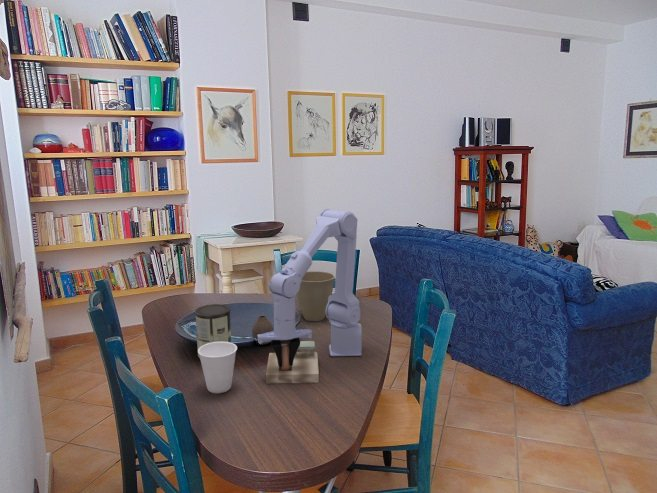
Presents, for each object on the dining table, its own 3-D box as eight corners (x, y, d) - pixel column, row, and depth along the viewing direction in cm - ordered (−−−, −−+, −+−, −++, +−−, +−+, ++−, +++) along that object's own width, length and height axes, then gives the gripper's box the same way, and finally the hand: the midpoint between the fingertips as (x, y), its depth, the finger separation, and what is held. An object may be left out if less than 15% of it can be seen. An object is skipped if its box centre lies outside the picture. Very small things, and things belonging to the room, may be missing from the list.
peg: (288, 370, 136) (287, 343, 135) (290, 374, 134) (290, 346, 133) (279, 372, 135) (279, 344, 134) (282, 375, 133) (281, 347, 132)
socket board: (317, 360, 145) (317, 352, 145) (318, 382, 131) (318, 373, 131) (269, 360, 144) (269, 352, 144) (266, 383, 131) (265, 374, 130)
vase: (269, 347, 154) (269, 321, 152) (249, 345, 155) (248, 319, 153) (276, 339, 161) (276, 313, 159) (256, 337, 162) (255, 312, 160)
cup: (219, 401, 121) (217, 360, 119) (191, 391, 127) (189, 351, 124) (246, 385, 130) (245, 346, 127) (219, 376, 135) (217, 338, 133)
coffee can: (211, 344, 156) (209, 302, 153) (238, 350, 152) (237, 306, 149) (189, 356, 147) (187, 312, 144) (217, 363, 143) (215, 317, 140)
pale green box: (314, 360, 145) (314, 341, 144) (314, 366, 141) (314, 346, 140) (292, 360, 145) (292, 341, 144) (292, 366, 141) (292, 346, 140)
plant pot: (342, 315, 183) (342, 274, 179) (320, 328, 170) (320, 284, 167) (309, 308, 190) (308, 268, 187) (285, 320, 178) (285, 277, 175)
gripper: (307, 310, 137) (307, 355, 140) (255, 315, 133) (256, 361, 136) (313, 318, 131) (313, 366, 133) (259, 324, 127) (260, 372, 129)
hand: (285, 364), depth 134 cm, fingers closed on peg, 2 cm apart
